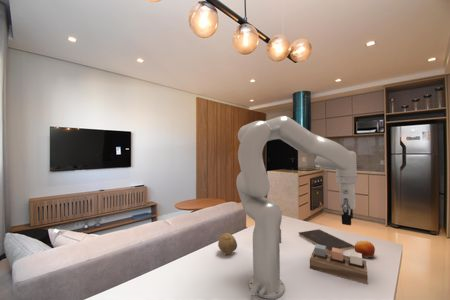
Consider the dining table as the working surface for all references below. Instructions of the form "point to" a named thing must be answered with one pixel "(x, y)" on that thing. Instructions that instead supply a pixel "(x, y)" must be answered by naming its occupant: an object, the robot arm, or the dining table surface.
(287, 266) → the dining table surface
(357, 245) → the fruit
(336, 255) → the terracotta key
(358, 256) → the cream key
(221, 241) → the natural sponge
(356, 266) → the wooden key base
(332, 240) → the hardcover book
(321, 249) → the slate key
